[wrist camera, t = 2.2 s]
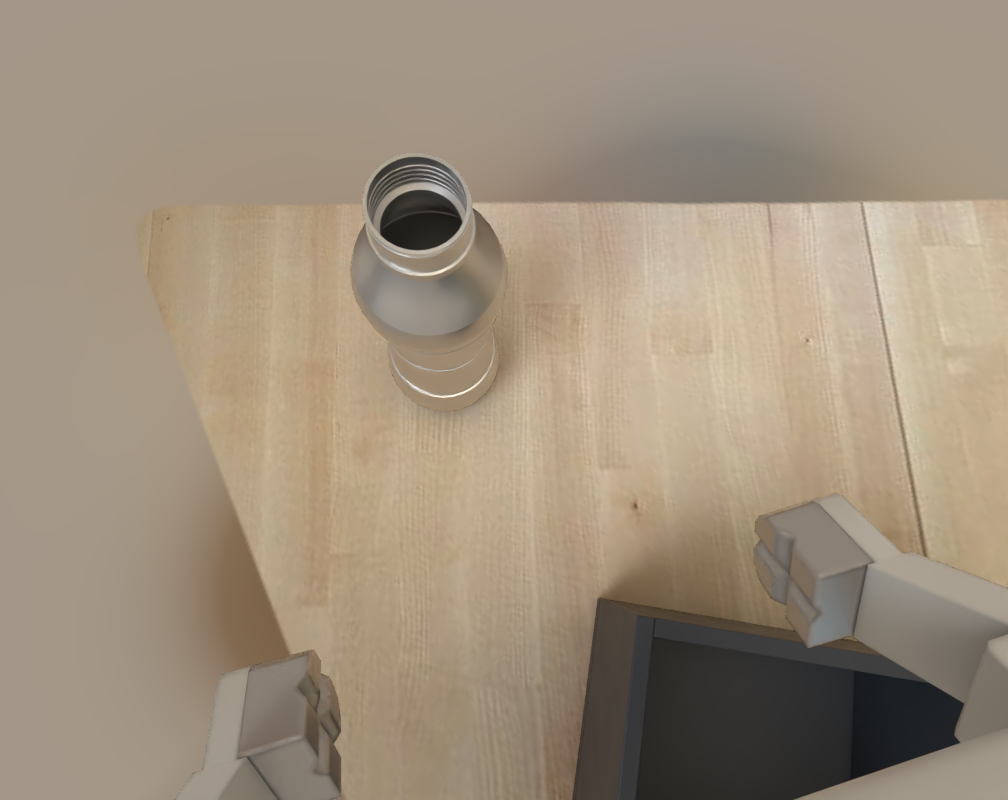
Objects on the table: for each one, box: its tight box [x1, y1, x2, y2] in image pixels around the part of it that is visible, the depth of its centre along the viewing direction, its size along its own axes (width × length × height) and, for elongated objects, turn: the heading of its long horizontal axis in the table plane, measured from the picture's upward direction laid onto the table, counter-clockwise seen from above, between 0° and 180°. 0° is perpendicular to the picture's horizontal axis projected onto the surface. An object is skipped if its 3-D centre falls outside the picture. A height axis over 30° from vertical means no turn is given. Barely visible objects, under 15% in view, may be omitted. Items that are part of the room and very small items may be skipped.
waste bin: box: [573, 598, 964, 800], centre depth 32 cm, size 16×14×10 cm
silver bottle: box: [350, 153, 508, 412], centre depth 31 cm, size 6×7×20 cm
